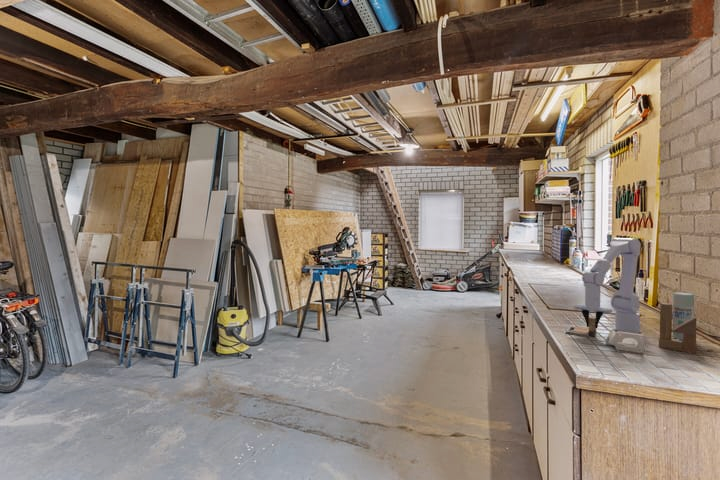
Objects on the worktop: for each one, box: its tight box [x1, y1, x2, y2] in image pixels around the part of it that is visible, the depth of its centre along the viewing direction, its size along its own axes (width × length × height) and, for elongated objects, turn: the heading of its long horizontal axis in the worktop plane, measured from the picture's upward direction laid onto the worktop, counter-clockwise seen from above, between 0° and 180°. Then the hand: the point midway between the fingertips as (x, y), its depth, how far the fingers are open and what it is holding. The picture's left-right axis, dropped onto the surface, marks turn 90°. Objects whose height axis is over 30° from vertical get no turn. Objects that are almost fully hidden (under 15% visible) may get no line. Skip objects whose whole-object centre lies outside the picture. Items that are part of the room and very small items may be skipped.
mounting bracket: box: [605, 329, 646, 354], centre depth 136 cm, size 12×6×11 cm, turn 55°
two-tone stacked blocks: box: [588, 316, 597, 338], centre depth 154 cm, size 2×7×8 cm, turn 141°
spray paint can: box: [672, 291, 695, 341], centre depth 147 cm, size 6×6×20 cm
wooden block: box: [658, 302, 697, 354], centre depth 135 cm, size 4×11×18 cm, turn 47°
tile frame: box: [565, 325, 590, 338], centre depth 158 cm, size 9×11×1 cm
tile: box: [572, 327, 589, 334], centre depth 157 cm, size 6×6×2 cm
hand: (592, 327), depth 154 cm, fingers closed on two-tone stacked blocks, 2 cm apart
